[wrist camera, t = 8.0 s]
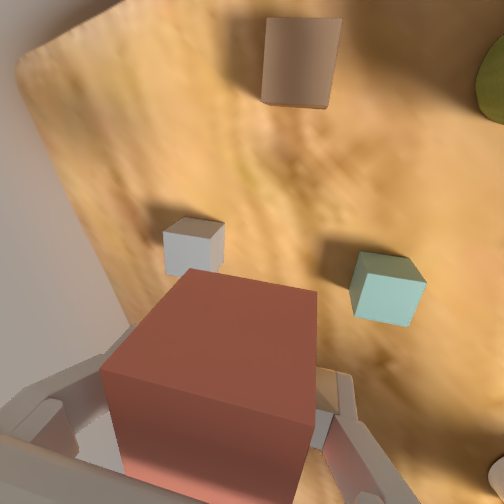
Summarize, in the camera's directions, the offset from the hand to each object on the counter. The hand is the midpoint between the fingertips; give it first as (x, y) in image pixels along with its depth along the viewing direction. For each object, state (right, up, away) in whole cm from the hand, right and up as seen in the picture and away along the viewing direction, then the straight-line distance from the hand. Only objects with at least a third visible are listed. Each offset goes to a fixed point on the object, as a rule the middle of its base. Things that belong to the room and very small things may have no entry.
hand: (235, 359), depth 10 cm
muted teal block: (+14, +2, +20) cm, 24 cm away
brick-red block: (0, +1, +1) cm, 2 cm away
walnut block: (+5, +19, +13) cm, 24 cm away
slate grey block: (-5, +5, +22) cm, 23 cm away
